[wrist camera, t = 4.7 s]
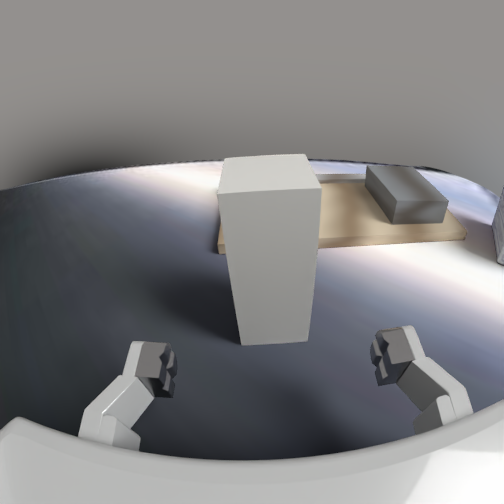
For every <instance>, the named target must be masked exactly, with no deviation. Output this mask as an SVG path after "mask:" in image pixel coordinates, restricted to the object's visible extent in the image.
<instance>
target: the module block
mask: <svg viewBox="0 0 504 504" xmlns="http://www.w3.org/2000/svg"><path fill="white" fill-rule="evenodd" d="M321 195H322V187H321V185H320V183H319V181H318V179H317V177H316V175H315V173H314V171H313V169H312V167H311V165H310V163H309V161H308V159H307V158H306V156H305V154H288V155H267V156H266V155H265V156H249V157H235V158H225V160H224V164H223V169H222V173H221V178H220V183H219V187H218V192H217V197H218V203H219V210H220V217H221V224H222V230H223V237H224V243H225V250H226V256H227V262H228V269H229V275H230V281H231V287H232V293H233V299H234V305H235V311H236V317H237V323H238V328H239V334H240V340H241V345H261V344H278V343H292V342H305V341H308V334H309V326H310V318H311V310H312V302H313V293H314V283H315V273H316V263H317V252H318V240H319V227H320V212H321Z"/></svg>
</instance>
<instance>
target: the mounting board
mask: <svg viewBox="0 0 504 504" xmlns="http://www.w3.org/2000/svg"><path fill="white" fill-rule="evenodd" d="M315 175H316V177H317V179H318V181H319V183H320V185H321V187H322V195H321V212H320V227H319V240H318V248H330V247H347V246H363V245H380V244H397V243H413V242H430V241H447V240H464V239H465V236H466V234H467V230H466V229H465V228H464V227H463V226H462V225H461V223H460V222H459V221H458V220H457V219H456V218H455V217H454V216H453V214H452V213H451V212H450V211H449V210H448V209H447V206H448V202H449V201H448V200H447V199H446V198H445V197H444V196H443V195H442V194H441V193H440V192H439V191H438V190H437V189H436V188H435V187H434V186H433V185H432V184H431V183H430V182H429V181H427V180H426V179H425V178H424V177H423V176H422V175H421V174H420V173H419V172H418V171H416V170H415V169H414V168H413V167H398V166H367V169H366V174H315ZM218 250H219V254H226V250H225V243H224V237H223V230H222V224H220V231H219V238H218Z"/></svg>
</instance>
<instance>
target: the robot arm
mask: <svg viewBox="0 0 504 504" xmlns="http://www.w3.org/2000/svg"><path fill="white" fill-rule="evenodd" d="M375 337H376V340H374V341H373V342H372V345H371V349H370V355H371V361H372V364H374V365H375V366H376V367H377V368H376V371H375V376H376V379H377V383H378V386H382V385H387V384H393V383H396V384H397V385H398V386H399V387H400V389H401V390H402V391H403V392H404V393H405V394H406V395H407V396H408V397H409V398H410V399H411V401H412V402H413V403H414V404H415V405H416V406H417V407H418V408H419V409H420V410H421V411H422V413H421V414H419V415H418V416H417V417H416V418H415V419H414V421H413V425H414V429H415V434H416V435H414V436H411V437H407V438H404V439H400V440H396V441H393V442H389V443H385V444H380V445H376V446H372V447H367V448H362V449H357V450H352V451H346V452H340V453H334V454H327V455H320V456H312V457H302V458H291V459H276V460H209V459H194V458H183V457H174V456H166V455H158V454H152V453H145V452H140V451H139V445H140V436H139V435H138V434H136V433H135V432H134V431H132V430H131V427H132V426H133V425H134V423H135V422H136V421H137V420H138V418H139V417H140V416H141V414H142V413H143V412H144V411H145V409H146V408H147V407H148V405H149V404H150V403H151V402H152V400H153V399H154V397H163V398H173V395H174V388H175V383H174V381H173V380H172V379H173V378H174V377H175V376H176V375H177V358H176V355H175V353H173V352H172V351H171V345H170V344H169V343H164V342H145V341H133V342H132V344H131V346H130V349H129V352H128V356H127V360H126V363H125V367H124V371H123V374H122V375H119V376H118V377H117V378H116V379H115V380H114V381H113V382H112V383H111V384H110V385H109V386H108V387H107V388H106V389H105V390H104V391H103V392H102V393H101V394H100V395H99V396H98V397H97V398H96V399H95V400H94V401H93V402H92V403H91V404H90V405H89V406H88V407H87V408H86V409H85V410H84V414H83V418H82V422H81V426H80V430H79V435H78V437H76V436H73V435H69V434H66V433H63V432H60V431H57V430H54V429H51V428H49V427H46V426H43V425H41V424H38V423H35V422H33V421H30V420H28V419H25V418H23V417H16V418H14V419H13V420H11V421H10V422H9V423H8V424H6V425H5V426H4V427H3V428H2V429H1V430H0V504H504V399H503V400H501V401H499V402H497V403H495V404H493V405H491V406H489V407H487V408H485V409H482V410H480V411H478V412H476V413H473V410H472V407H471V404H470V401H469V398H468V395H467V392H466V389H465V387H464V386H463V385H462V384H460V383H459V382H458V381H457V380H456V379H454V378H453V377H452V376H451V375H450V374H448V373H447V372H446V371H445V370H444V369H442V368H441V367H440V366H439V365H438V364H436V363H435V362H434V361H433V360H432V359H430V358H429V357H427V358H426V356H425V354H424V351H423V349H422V346H421V344H420V341H419V339H418V336H417V334H416V332H415V329H414V327H413V326H411V325H409V326H403V327H396V328H390V329H384V330H379V331H377V333H376V335H375Z"/></svg>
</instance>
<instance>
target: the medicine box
mask: <svg viewBox="0 0 504 504" xmlns="http://www.w3.org/2000/svg"><path fill="white" fill-rule="evenodd" d="M492 228H493V234H494V240H495V246H496V254H497V262H498V263H500V264H502V265H504V187H503V191H502V195H501V198H500V201H499V204H498V207H497V210H496V213H495V216H494V219H493V223H492Z"/></svg>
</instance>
